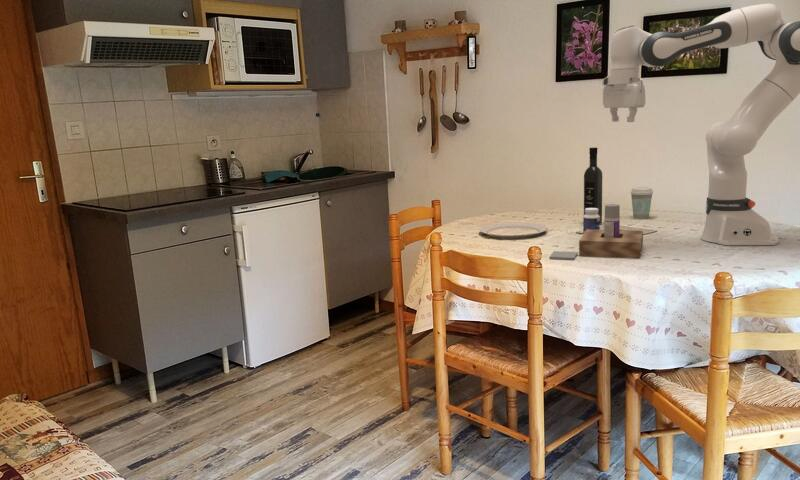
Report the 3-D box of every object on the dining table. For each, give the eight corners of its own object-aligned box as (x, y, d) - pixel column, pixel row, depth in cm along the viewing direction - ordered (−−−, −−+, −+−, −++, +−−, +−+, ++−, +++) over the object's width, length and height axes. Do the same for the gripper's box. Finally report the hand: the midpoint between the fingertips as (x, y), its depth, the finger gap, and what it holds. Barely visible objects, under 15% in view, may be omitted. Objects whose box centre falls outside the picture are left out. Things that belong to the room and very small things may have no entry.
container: (616, 248, 205) (616, 203, 202) (621, 251, 201) (622, 205, 198) (601, 249, 205) (602, 204, 202) (607, 252, 201) (607, 206, 198)
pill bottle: (600, 237, 223) (600, 209, 221) (583, 237, 224) (583, 210, 222) (598, 233, 228) (599, 207, 226) (582, 234, 230) (582, 207, 227)
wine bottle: (596, 226, 242) (596, 148, 236) (582, 225, 246) (583, 148, 239) (602, 223, 246) (603, 147, 240) (589, 222, 250) (590, 147, 243)
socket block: (642, 245, 207) (642, 230, 206) (639, 258, 191) (639, 242, 190) (586, 243, 215) (586, 229, 214) (579, 255, 199) (579, 240, 198)
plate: (554, 238, 226) (554, 233, 226) (484, 242, 226) (484, 237, 226) (538, 225, 251) (538, 220, 251) (475, 228, 251) (475, 224, 251)
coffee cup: (625, 217, 256) (626, 188, 253) (642, 215, 258) (643, 186, 256) (639, 220, 248) (639, 190, 245) (657, 218, 250) (658, 188, 248)
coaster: (577, 254, 200) (577, 252, 200) (574, 260, 194) (574, 257, 194) (553, 253, 203) (553, 251, 203) (549, 259, 197) (549, 256, 197)
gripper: (651, 76, 194) (649, 122, 197) (616, 79, 213) (615, 120, 216) (633, 77, 193) (631, 123, 196) (599, 80, 212) (598, 121, 215)
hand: (622, 122), depth 206 cm, fingers open, 8 cm apart
